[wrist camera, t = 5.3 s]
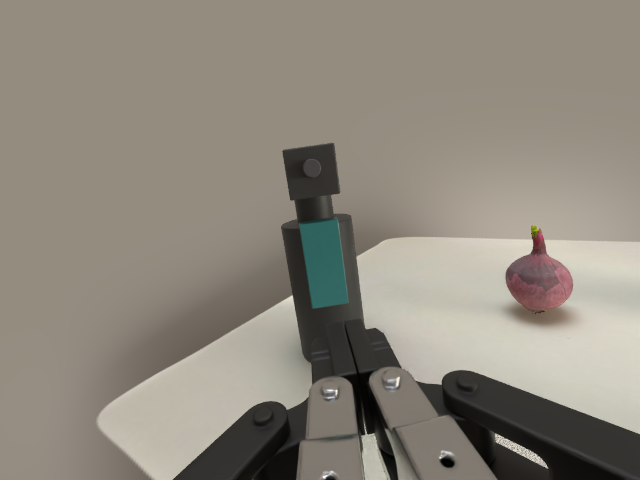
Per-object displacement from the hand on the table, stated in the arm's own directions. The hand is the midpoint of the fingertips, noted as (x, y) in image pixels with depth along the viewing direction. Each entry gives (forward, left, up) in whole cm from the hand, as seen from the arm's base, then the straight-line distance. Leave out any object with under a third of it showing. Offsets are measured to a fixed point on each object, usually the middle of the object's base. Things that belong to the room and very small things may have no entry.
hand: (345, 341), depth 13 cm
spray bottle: (+8, +14, -12) cm, 20 cm away
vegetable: (+29, +6, -12) cm, 32 cm away
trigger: (+6, +11, -4) cm, 13 cm away
